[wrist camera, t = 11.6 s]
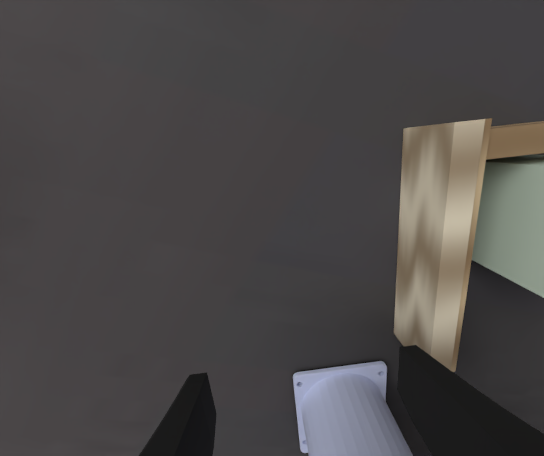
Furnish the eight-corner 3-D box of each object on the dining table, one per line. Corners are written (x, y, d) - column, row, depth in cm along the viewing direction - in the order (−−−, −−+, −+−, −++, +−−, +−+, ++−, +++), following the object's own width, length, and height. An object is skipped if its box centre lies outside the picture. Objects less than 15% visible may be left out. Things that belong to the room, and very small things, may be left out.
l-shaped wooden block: (490, 320, 22) (548, 363, 18) (393, 333, 22) (428, 379, 17) (528, 114, 17) (621, 104, 13) (403, 128, 17) (454, 122, 12)
